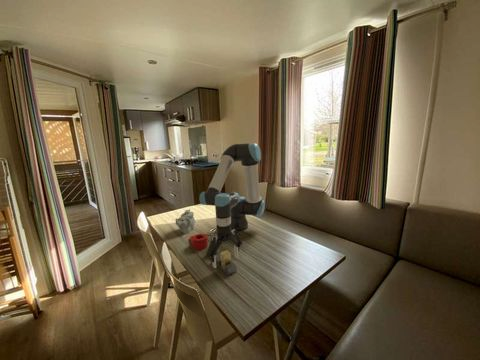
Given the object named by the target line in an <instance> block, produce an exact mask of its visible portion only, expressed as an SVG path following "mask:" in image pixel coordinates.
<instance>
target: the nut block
mask: <svg viewBox="0 0 480 360" xmlns="http://www.w3.org/2000/svg"><path fill="white" fill-rule="evenodd" d="M219 253H220V256H221V267H222V268H223V269H224V270H225V265H227V264H230V263H232V254H231V252H230V251H229V250H228V249H226V250H223V251H222V252H219Z"/></svg>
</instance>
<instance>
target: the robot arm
mask: <svg viewBox="0 0 480 360" xmlns="http://www.w3.org/2000/svg"><path fill="white" fill-rule="evenodd" d="M219 159H220V162H219V164H218V166H217V169H216V170H215V173H214V175H213V177H212V179H211V181H210V183H209V186H208V187H207V189H206V191H202V192H201V193H200V194H199V202H200V204H201V205H204V206H213V207H214V209H215V224H216V234H217V235H211V236H210V237H211V239H210V242H209V244H208V245H209V246H208V247H207V249H208V251H207V250H206V256H208V258H210V257H211V258H210V261H211V263H212V267H213V268H214V269H217V264H216V256H215V253H216V252H217V253H218V250H219V249H220V247H221V245H222V244H223V243H225V242H229V241H230V242H232V243H233V244H234V246H233V249H234V258H235V259H239V257H240V256H239V252H240V248H241V245H243V242H242V240H241V238H240V236H239V234H238V231H243V230H246V229H247V228H249V222H248V219H247V217H246V216H255V217H262V216H263V215H264V211H265V207H266V201H265V200H264V199H263V197H262V196H261V195H260V189H259V188H260V187H259V177H258V164H259V162H260V161H261V159H262V151H261V148H260V146H259V145H258V144H257V143H251V142H249V143H234V144H232V145H230V146H229V147H227V148H226V149H225V150H224V151H223V152H222V153H221V156H220V158H219ZM236 162H240V163H241V166H243V167H244V170H243V171H244V178H245V186H246V195H247V197H245V196H240V194H239V193H238V192H236V191H231V192H221V191H222V190H223V189H222V188H223V187H224V185H225V182H226V179H227V177H228V175H229V172H230V171H231V170H230V169H231V168H232V167H233V166H234V163H236ZM232 235H233V237H234V238H233V237H232Z"/></svg>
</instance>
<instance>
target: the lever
mask: <svg viewBox="0 0 480 360" xmlns="http://www.w3.org/2000/svg"><path fill="white" fill-rule="evenodd" d="M189 240H190V243H191V246H192V249H194V250H195V251H202V250H205V249H208V247H209V246H208V245H209V244H208V235H207V234H205V233H197V234H194V235H191V236H190V237H189Z"/></svg>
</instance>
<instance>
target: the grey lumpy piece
mask: <svg viewBox="0 0 480 360" xmlns="http://www.w3.org/2000/svg"><path fill="white" fill-rule="evenodd" d="M194 215H195V214H194V212H193V211H191V209H189V208H188V209H186V210H185V211H184V212H183V213H182V214H181V215H180V217H179V218H177V217H176V218H175V219H174V220H175V224H176V226H177V228H179V231H180V233H182V232H183V234H184V235H186V234H187V235H188V234H190V233H191V232H192V231H194V230H195V226H196V225H195V222H196V220H195V217H194Z"/></svg>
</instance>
